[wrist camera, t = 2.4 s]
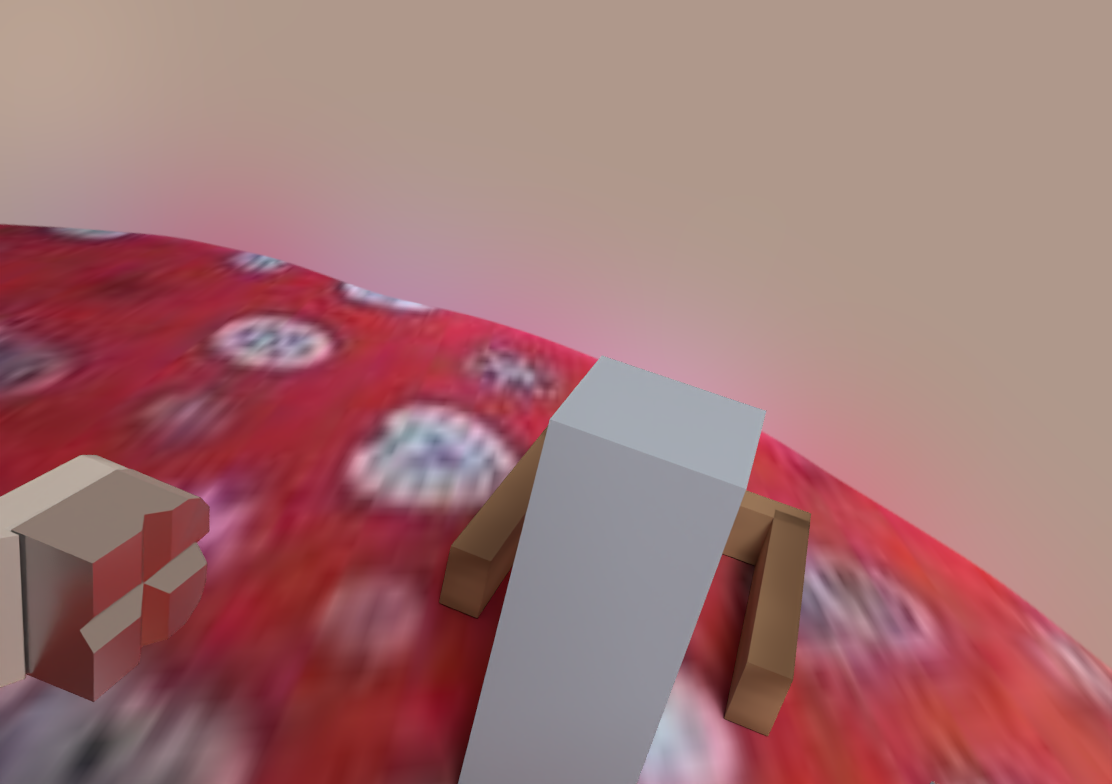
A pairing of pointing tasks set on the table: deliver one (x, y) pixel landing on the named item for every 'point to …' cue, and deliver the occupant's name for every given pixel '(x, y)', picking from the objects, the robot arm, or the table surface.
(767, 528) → the wooden u-shaped frame
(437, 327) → the table surface
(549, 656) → the grey block
